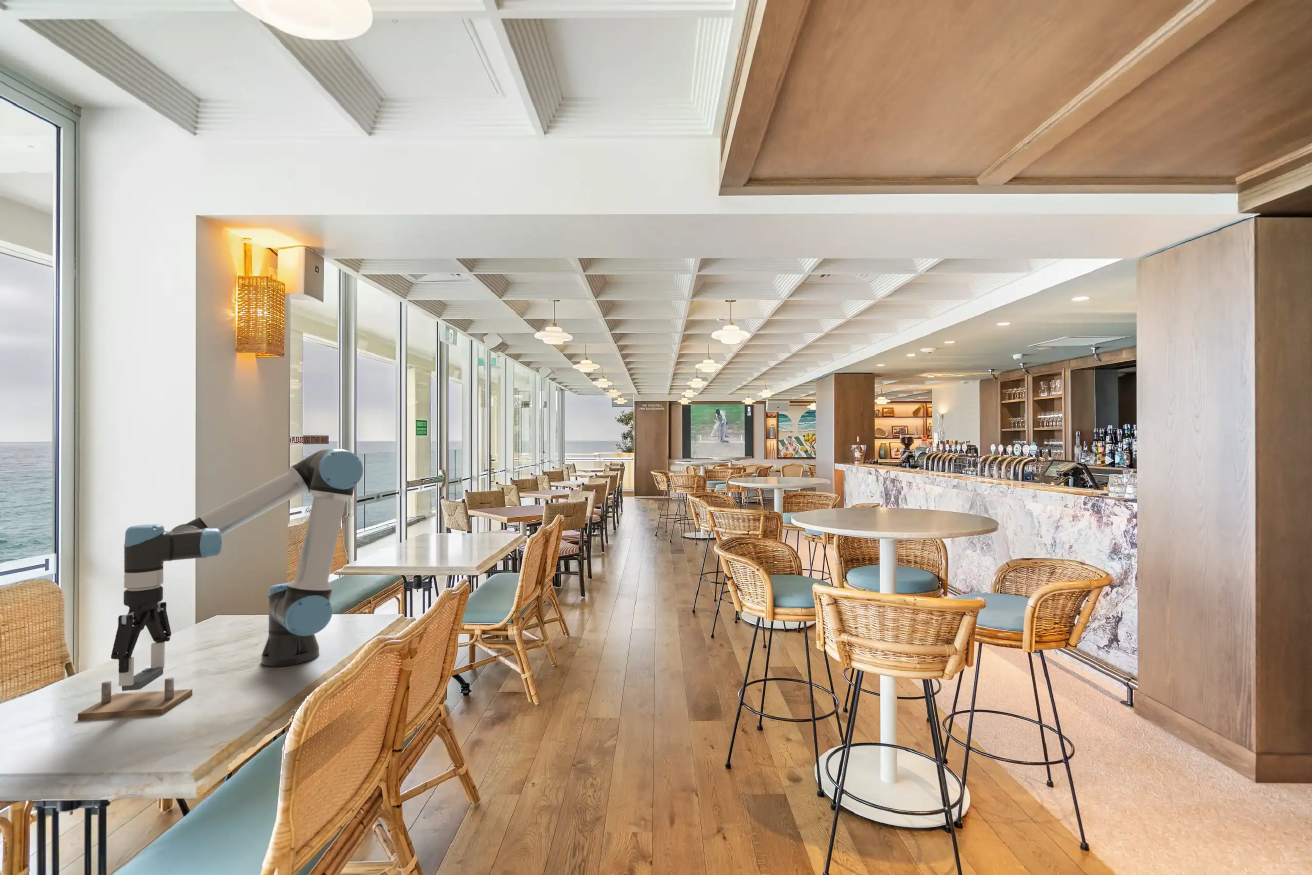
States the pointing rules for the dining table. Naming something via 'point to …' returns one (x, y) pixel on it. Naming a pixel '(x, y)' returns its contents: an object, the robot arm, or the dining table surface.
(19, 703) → the dining table surface
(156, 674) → the dark grey block
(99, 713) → the mount
